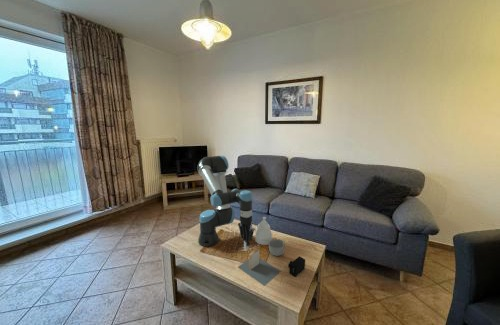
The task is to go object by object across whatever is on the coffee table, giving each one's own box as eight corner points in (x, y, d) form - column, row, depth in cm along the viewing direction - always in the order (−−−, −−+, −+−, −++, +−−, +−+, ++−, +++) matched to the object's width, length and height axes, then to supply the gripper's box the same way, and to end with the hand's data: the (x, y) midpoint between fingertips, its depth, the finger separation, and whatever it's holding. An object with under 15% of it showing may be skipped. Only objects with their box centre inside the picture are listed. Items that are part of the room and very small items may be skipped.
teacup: (283, 259, 138) (284, 248, 137) (267, 257, 140) (267, 246, 139) (284, 247, 152) (285, 237, 150) (269, 245, 154) (270, 235, 152)
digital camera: (297, 264, 133) (297, 255, 132) (304, 269, 129) (305, 259, 128) (287, 272, 126) (288, 262, 125) (295, 277, 122) (295, 267, 121)
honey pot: (256, 235, 168) (257, 214, 165) (272, 236, 165) (273, 215, 162) (253, 244, 156) (254, 221, 152) (271, 246, 153) (271, 223, 150)
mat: (237, 267, 130) (237, 267, 130) (254, 256, 142) (254, 255, 141) (264, 286, 115) (264, 285, 115) (281, 271, 127) (281, 271, 127)
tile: (249, 268, 129) (249, 254, 127) (257, 262, 134) (257, 248, 133) (251, 270, 128) (251, 255, 126) (259, 263, 133) (259, 249, 131)
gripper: (234, 214, 132) (235, 248, 136) (249, 220, 123) (249, 256, 127) (243, 210, 137) (243, 243, 141) (257, 216, 128) (257, 251, 132)
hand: (246, 249), depth 134 cm, fingers closed
